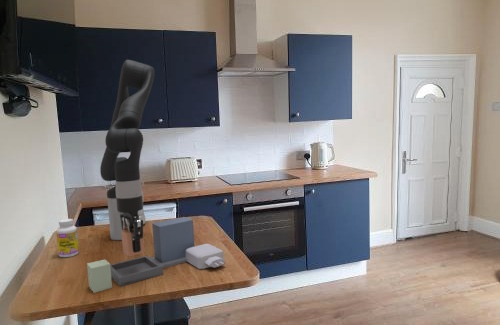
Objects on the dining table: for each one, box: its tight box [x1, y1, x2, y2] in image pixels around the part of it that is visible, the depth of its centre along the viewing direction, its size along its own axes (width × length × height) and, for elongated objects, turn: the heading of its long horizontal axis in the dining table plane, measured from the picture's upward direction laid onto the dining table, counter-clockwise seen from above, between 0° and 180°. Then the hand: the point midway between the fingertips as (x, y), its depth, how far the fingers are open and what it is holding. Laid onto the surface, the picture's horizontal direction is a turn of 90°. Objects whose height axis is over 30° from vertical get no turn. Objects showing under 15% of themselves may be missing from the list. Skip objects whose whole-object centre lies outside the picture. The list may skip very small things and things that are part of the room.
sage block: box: [86, 258, 113, 294], centre depth 106 cm, size 5×5×7 cm
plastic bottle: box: [138, 191, 146, 225], centre depth 173 cm, size 6×7×20 cm
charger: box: [186, 243, 226, 270], centre depth 120 cm, size 5×9×15 cm
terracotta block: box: [121, 229, 146, 257], centre depth 115 cm, size 5×5×7 cm
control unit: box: [150, 216, 196, 269], centre depth 126 cm, size 10×14×13 cm
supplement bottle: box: [56, 218, 79, 258], centre depth 136 cm, size 7×7×13 cm
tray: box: [110, 255, 164, 288], centre depth 116 cm, size 13×13×2 cm
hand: (133, 249), depth 115 cm, fingers closed on terracotta block, 5 cm apart
